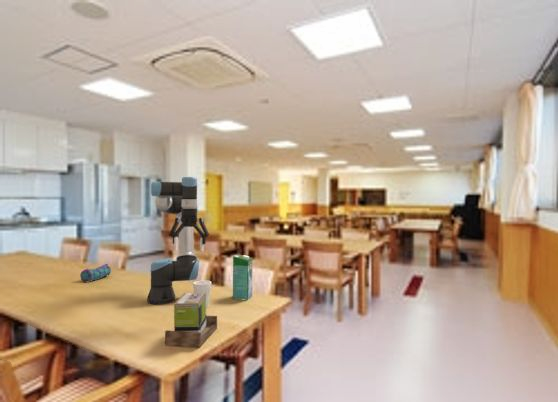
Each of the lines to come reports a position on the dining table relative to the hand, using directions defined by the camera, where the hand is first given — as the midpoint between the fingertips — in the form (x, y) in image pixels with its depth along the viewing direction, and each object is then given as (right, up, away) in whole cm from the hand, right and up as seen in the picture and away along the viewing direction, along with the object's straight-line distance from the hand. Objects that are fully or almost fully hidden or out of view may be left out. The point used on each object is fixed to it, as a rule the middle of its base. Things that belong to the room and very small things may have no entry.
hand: (189, 250), depth 165 cm
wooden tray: (+9, -32, -27) cm, 43 cm away
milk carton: (+24, -32, +30) cm, 50 cm away
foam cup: (+4, -32, +12) cm, 35 cm away
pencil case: (-88, -32, +75) cm, 120 cm away
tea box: (+8, -30, -27) cm, 42 cm away
